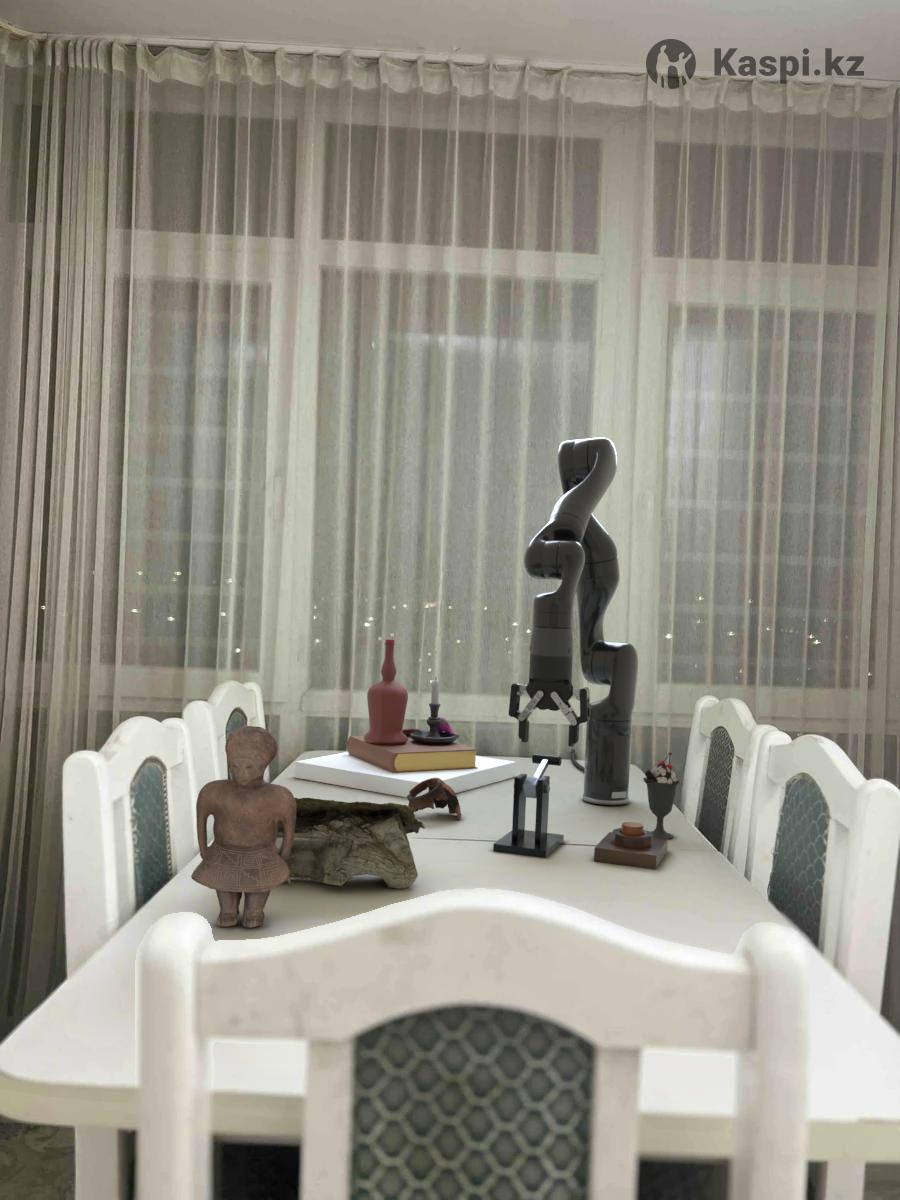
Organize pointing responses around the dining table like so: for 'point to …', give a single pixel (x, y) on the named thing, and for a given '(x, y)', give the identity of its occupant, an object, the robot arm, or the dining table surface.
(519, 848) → the bracket
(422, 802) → the brown broken pot shard
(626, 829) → the button
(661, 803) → the sundae
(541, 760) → the lever
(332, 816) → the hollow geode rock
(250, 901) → the clay figurine
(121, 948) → the dining table surface
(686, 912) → the dining table surface
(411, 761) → the decorative still life
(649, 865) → the button block
